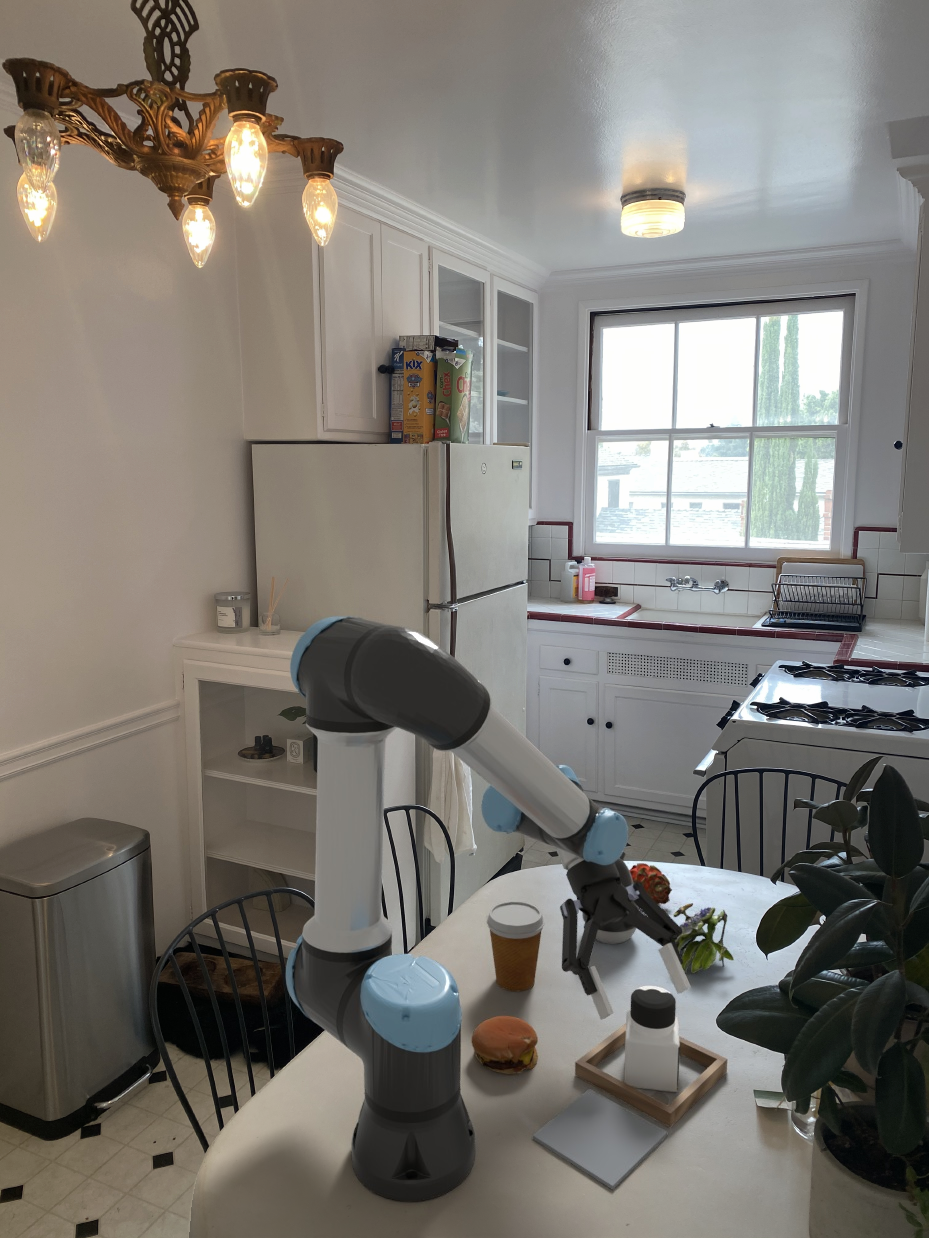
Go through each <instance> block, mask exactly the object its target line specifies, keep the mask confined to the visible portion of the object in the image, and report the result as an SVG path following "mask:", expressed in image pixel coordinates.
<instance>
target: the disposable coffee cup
mask: <svg viewBox="0 0 929 1238" xmlns="http://www.w3.org/2000/svg"><path fill="white" fill-rule="evenodd" d="M485 919H486V924H487V927H488V928H489V933H490V943H491V949H492V957H493V963H494V964H493V965H494V972H495V979H496V980H495V981H496V984H497V986H498V987H500V988H501V989H503V990H505V991H510V992H524V991H527V990H529V989H531V988H532V987H533V986H534V984H535V979H536V971H537V968H538V967H537V965H538V959H539V953H540V952H539V951H540V946H541V945H540V944H541V938H542V931H543V928H544V926H545V924H546V920H545V917H544V916H543V912H542V909H540V907H538V906H536V905H535V904H533V903H530V902H527V901H521V900H509V901H508V900H506V901H502V902H500V903H497V904H494V905H493V906H492V907H491V908H490V909H489V912H488V915H487V916H486V918H485Z"/></svg>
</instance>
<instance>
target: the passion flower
mask: <svg viewBox="0 0 929 1238" xmlns="http://www.w3.org/2000/svg"><path fill="white" fill-rule="evenodd" d="M693 906H694V903H693V902H691V903H688V904H685V905H683V906H680V907H679V908H678V909H677V910H676V911H675V912H674V913H673V918H677V917H679V916H680V915H683V916H685V919H684V922H682V923H681V924H679V925H678V926H679V927H680V928H681V929H682V931H683V932H682V934H681V935H680V936H679V937H678V938H677V940H675V943H676V946H677V948H678V950H679V952H680V951H683V954H682V956H681V957H682V959H683V964H682V965H681V966H682V968H683V970H684V973H686V974H687V973H688V968H689V966H690V965H691V966H690V972H691V973H692V974H694V973H697V972H698V971H700V970H703V971H705V970H708V969H709V968H710V967H711V966H713V964H714V963H715V961H716V958H717V954H719V957H718V961H719V962H721V964H722V967H724V966H725V965H724V964H725V963H724V962H725V961H724V959H726V960H729V961H734V956H733V954H732V953H731V952H730V951H729V950H728V947H727V946H724V936H725V929H726V925H727V922H728V915H727V913H726V911H725V909H722V910H721V911H720V913H719V914H717V915H716V914H715V912H716V908H715V907H709V906H708V907H704V909H703V908H701V909H700V910H699V912H696V913H695V914H694V916H690V915H688V914H687V913H686V911H687V910H689V909H690V908H691V907H693ZM714 914H715V915H714ZM721 921H723V924H722V925H723V926H722V932H721V934H720V935H721V936H720V939H719V940H718V941H717V942H715V941H714V938H713V937H714V934H715V932H716V930H717V929H716V927H717V925H718V923H721ZM706 925H707V927H706V929H707V931H705V929H704V927H705V926H706ZM697 937H703V938H702V939H701V940H697ZM717 952H718V953H717ZM680 953H681V952H680Z"/></svg>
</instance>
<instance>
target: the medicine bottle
mask: <svg viewBox="0 0 929 1238" xmlns="http://www.w3.org/2000/svg"><path fill="white" fill-rule="evenodd" d="M676 1005H677V1001H676V998H675V996H674V995H673V993H671V992H670V991H669V990H667V989H666V988H663V987H661V986H655V985H644V986H640V987H637V988H636V989H635V990H633V992H631V994H630V1010H627V1011H626V1020H625V1023H626V1039H625V1044H624V1050H625V1051H624V1081H623V1082H624V1083H626V1084H628V1085H630V1086H632V1087H633V1088H635V1089H643V1090H644V1089H645V1090H652V1091H661V1092H669V1093H677V1092H679V1081H680V1080H679V1078H680V1075H679V1073H680V1054H679V1050H680V1044H679V1036H680V1028H679V1017H678V1016H677V1015H676V1009H677V1008H676V1007H677V1006H676Z"/></svg>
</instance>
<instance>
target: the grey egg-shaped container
mask: <svg viewBox="0 0 929 1238" xmlns="http://www.w3.org/2000/svg"><path fill="white" fill-rule="evenodd" d="M625 858H626V852H624V851H623V853H622V855H621V856H620V857H619V859H618V860H616V861H615V862H614V863H615V866H616V868H617V870H618V872H619V876H620V882H621V883H622V885H623V886H624V887H625V888H626V887H628V886H631V885H632V884H633V883H634V882H633V878H632V876H631V873H630V871H629V870H630V869H629V867H628V866H627V864H626V863H625V861H624V860H625ZM628 901H629V902H630V903H632V904H633V905H635V906H636V907H637V908H638V910H639V911H640V908H639V907H638V906H637V905H636V904H635V902H634V901H633V900H630V899H629V896H628ZM626 912H627V910H626ZM581 913H582V916H581V917H582V920H583V921H584V922H585V920H586V917H587V916H586V915H585V914H584V913H583V912H581ZM636 930H637V928H636V927H634V926H633V925H631V924H630V923H628V922H624V921H623V920H621V919H620V920H619V921H617V922H608V923H607V924H605V925H603V926H600V925H599V927H598V931H597V935H596V939H595V940H597V941H599V942H601V943H605V944H611V945H615V944H617V945H618V944H620V943H623V942H626V941H628V940H630V939H631V938H632V937H633V935H634V934H635V932H636Z"/></svg>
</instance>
